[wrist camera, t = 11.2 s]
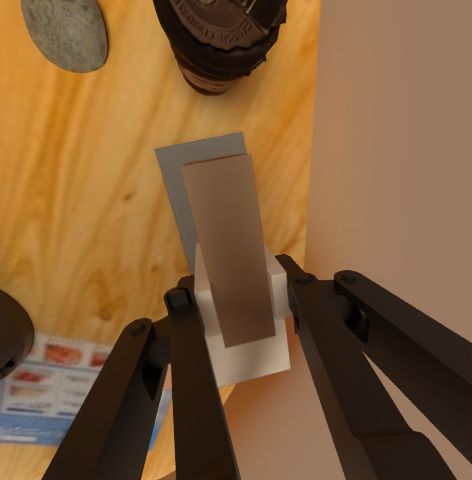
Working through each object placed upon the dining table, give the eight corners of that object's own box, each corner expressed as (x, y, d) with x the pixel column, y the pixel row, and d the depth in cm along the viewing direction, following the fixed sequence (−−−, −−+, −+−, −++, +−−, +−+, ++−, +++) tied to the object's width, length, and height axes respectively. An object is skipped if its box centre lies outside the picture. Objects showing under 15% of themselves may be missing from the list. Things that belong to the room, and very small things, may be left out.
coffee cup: (260, 95, 26) (317, 43, 14) (190, 121, 26) (186, 91, 14) (234, -3, 23) (281, -184, 11) (154, 25, 22) (107, -128, 10)
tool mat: (200, 302, 34) (200, 304, 33) (155, 149, 26) (154, 149, 25) (266, 285, 35) (267, 286, 34) (241, 132, 27) (242, 131, 26)
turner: (216, 380, 22) (222, 456, 16) (156, 168, 15) (131, 175, 9) (287, 361, 23) (316, 429, 17) (261, 149, 16) (296, 145, 10)
